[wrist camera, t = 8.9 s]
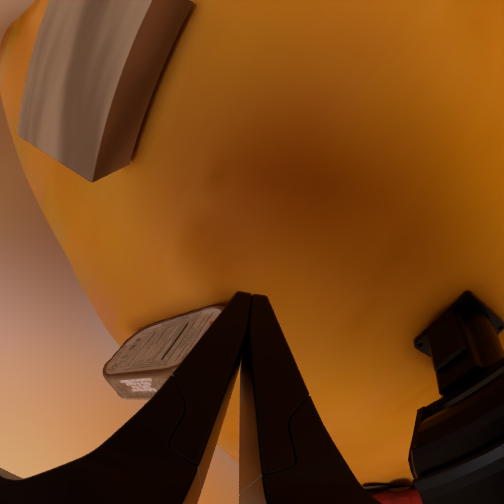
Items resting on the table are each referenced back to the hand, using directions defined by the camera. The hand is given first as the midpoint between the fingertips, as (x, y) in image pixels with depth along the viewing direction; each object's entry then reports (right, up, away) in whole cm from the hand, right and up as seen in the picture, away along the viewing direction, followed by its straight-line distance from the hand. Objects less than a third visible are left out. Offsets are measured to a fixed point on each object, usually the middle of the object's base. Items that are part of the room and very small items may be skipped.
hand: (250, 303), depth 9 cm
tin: (-6, -5, +19) cm, 20 cm away
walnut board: (-6, +11, +6) cm, 14 cm away
